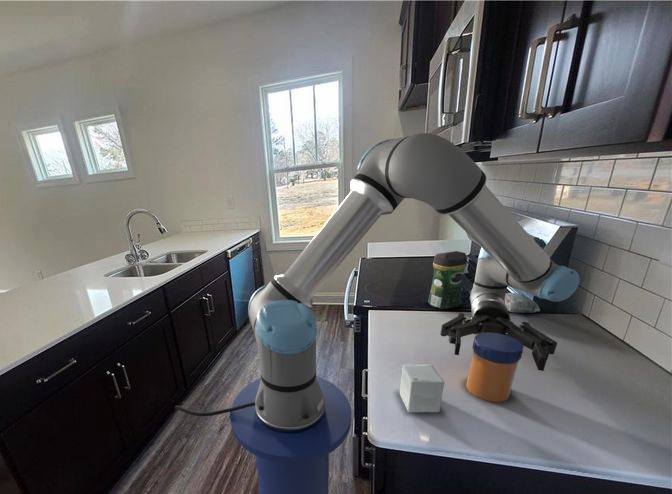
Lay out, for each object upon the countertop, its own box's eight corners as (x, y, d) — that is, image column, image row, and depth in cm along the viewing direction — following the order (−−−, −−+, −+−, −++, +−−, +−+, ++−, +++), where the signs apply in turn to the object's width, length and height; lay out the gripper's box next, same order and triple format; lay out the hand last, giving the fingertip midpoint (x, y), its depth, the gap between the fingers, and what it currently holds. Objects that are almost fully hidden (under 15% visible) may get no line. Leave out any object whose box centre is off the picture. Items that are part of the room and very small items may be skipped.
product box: (440, 413, 62) (445, 382, 59) (407, 413, 62) (411, 382, 60) (428, 393, 67) (432, 363, 65) (398, 393, 68) (402, 364, 65)
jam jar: (470, 398, 65) (480, 351, 61) (462, 377, 72) (471, 333, 68) (514, 404, 63) (528, 356, 59) (502, 382, 69) (513, 337, 65)
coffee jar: (445, 299, 114) (453, 248, 107) (464, 306, 106) (473, 252, 100) (423, 303, 111) (429, 251, 104) (440, 311, 104) (448, 256, 97)
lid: (477, 360, 62) (480, 349, 61) (468, 340, 69) (470, 330, 68) (527, 366, 59) (530, 354, 58) (512, 345, 66) (515, 334, 65)
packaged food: (508, 317, 98) (512, 302, 96) (489, 302, 109) (492, 289, 107) (539, 317, 96) (543, 302, 95) (516, 302, 107) (520, 289, 105)
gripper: (550, 336, 74) (577, 389, 57) (431, 319, 85) (424, 359, 68) (559, 307, 71) (590, 353, 54) (435, 293, 83) (429, 328, 66)
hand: (497, 356), depth 61 cm, fingers open, 13 cm apart
